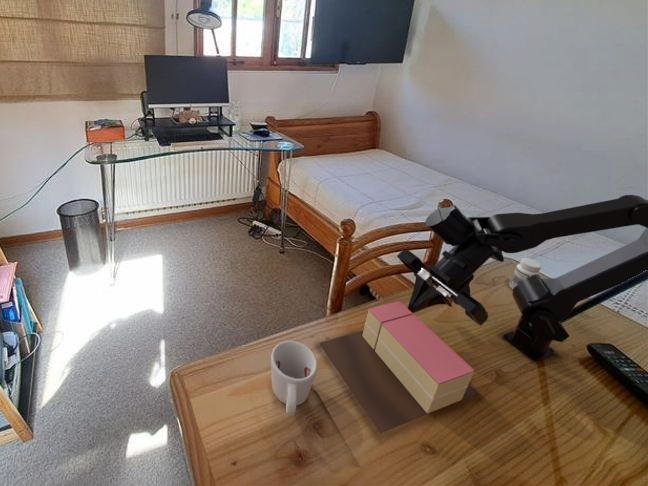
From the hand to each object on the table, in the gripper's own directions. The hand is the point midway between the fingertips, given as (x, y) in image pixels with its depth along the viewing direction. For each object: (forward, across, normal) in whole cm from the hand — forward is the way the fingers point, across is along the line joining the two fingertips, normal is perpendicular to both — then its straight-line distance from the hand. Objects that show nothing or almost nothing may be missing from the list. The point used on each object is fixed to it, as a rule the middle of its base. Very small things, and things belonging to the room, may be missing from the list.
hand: (409, 311), depth 72 cm
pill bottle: (-25, +3, -35) cm, 43 cm away
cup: (+26, -5, +17) cm, 32 cm away
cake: (+8, -9, 0) cm, 12 cm away
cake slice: (+8, 0, 0) cm, 8 cm away
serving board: (+11, -6, +1) cm, 13 cm away
